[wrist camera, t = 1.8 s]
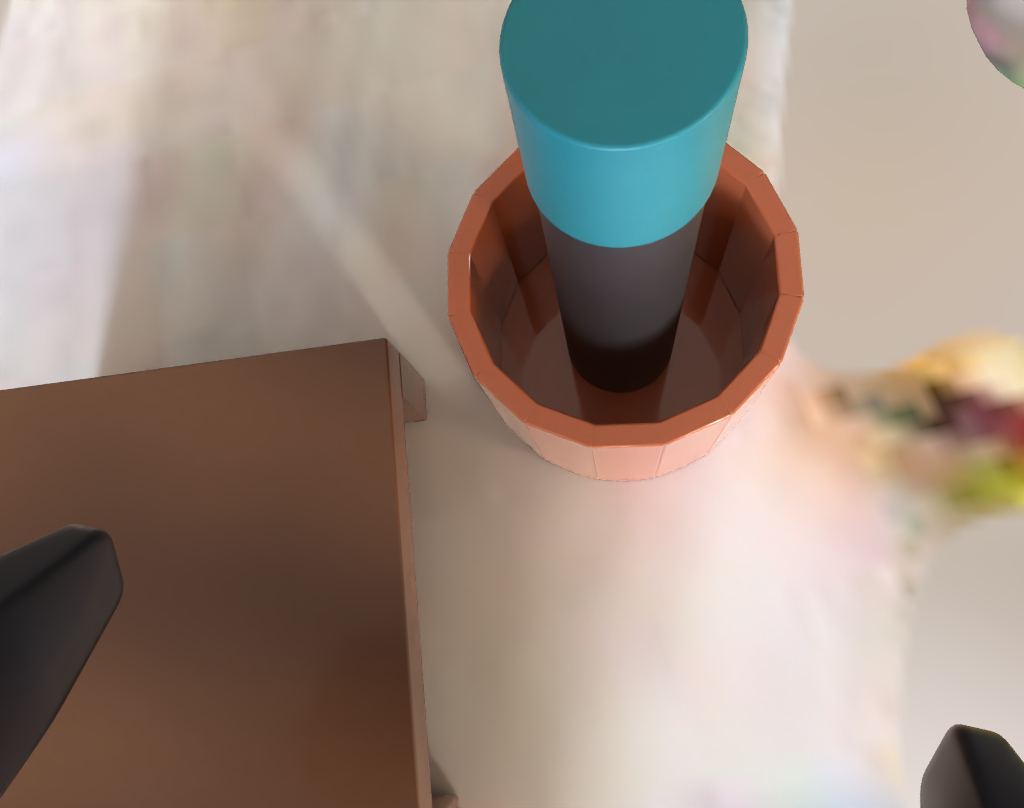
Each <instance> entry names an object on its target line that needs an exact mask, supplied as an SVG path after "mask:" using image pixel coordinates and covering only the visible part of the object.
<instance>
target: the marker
mask: <svg viewBox="0 0 1024 808" xmlns="http://www.w3.org/2000/svg"><path fill="white" fill-rule="evenodd" d="M747 48H748V25H747V19H746V14H745V11H744V7H743V4H742V1H741V0H512V2H511V4H510V6H509V8H508V10H507V13H506V16H505V18H504V21H503V25H502V30H501V35H500V46H499V54H500V65H501V69H502V74H503V78H504V83H505V87H506V92H507V96H508V101H509V105H510V110H511V114H512V118H513V123H514V127H515V132H516V136H517V141H518V145H519V150H520V154H521V159H522V163H523V168H524V172H525V176H526V181H527V185H528V188H529V190H530V193H531V195H532V198H533V199H534V201H535V203H536V205H537V206H538V208H539V212H540V217H541V222H542V227H543V231H544V236H545V241H546V246H547V251H548V255H549V260H550V265H551V270H552V275H553V280H554V284H555V289H556V294H557V299H558V304H559V308H560V313H561V318H562V323H563V328H564V332H565V337H566V342H567V347H568V351H569V356H570V359H571V361H572V364H573V365H574V367H575V369H576V370H577V372H578V373H579V374H580V375H581V376H582V377H583V378H584V379H585V380H586V381H587V382H588V383H590V384H592V385H593V386H595V387H597V388H599V389H602V390H605V391H609V392H621V393H622V392H630V391H635V390H638V389H640V388H643V387H645V386H647V385H649V384H650V383H651V382H653V381H654V380H655V379H656V378H658V377H659V376H660V374H661V373H662V372H663V371H664V369H665V368H666V366H667V364H668V362H669V360H670V357H671V354H672V350H673V345H674V341H675V336H676V332H677V327H678V323H679V318H680V314H681V309H682V305H683V300H684V296H685V291H686V287H687V282H688V278H689V273H690V269H691V264H692V260H693V255H694V251H695V246H696V242H697V237H698V233H699V228H700V223H701V219H702V214H703V210H704V205H705V203H706V201H707V200H708V198H709V196H710V195H711V192H712V190H713V188H714V186H715V183H716V180H717V177H718V173H719V169H720V165H721V161H722V157H723V152H724V148H725V144H726V140H727V136H728V131H729V127H730V123H731V119H732V115H733V110H734V106H735V102H736V98H737V94H738V89H739V85H740V81H741V77H742V73H743V68H744V64H745V60H746V55H747Z"/></svg>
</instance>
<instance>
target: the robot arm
mask: <svg viewBox="0 0 1024 808" xmlns="http://www.w3.org/2000/svg"><path fill="white" fill-rule="evenodd" d="M122 593H123V577H122V574H121V570H120V566H119V562H118V559H117V555H116V551H115V548H114V544H113V540H112V538H111V536H110V535H109V534H108V533H107V532H106V531H104V530H102V529H97V528H93V527H89V526H84V525H79V524H72V525H68V526H65V527H62V528H60V529H58V530H56V531H54V532H52V533H49V534H47V535H45V536H43V537H41V538H39V539H36V540H34V541H32V542H30V543H28V544H26V545H23V546H21V547H19V548H17V549H15V550H13V551H10V552H8V553H6V554H4V555H2V556H0V799H1V797H2V796H3V794H4V793H5V791H6V790H7V789H8V787H9V786H10V784H11V783H12V781H13V780H14V778H15V777H16V775H17V774H18V773H19V771H20V770H21V768H22V767H23V765H24V764H25V762H26V761H27V760H28V758H29V757H30V755H31V754H32V752H33V751H34V749H35V748H36V746H37V745H38V744H39V742H40V741H41V739H42V737H43V736H44V734H45V733H46V731H47V730H48V728H49V727H50V725H51V724H52V722H53V721H54V719H55V717H56V716H57V714H58V712H59V710H60V709H61V707H62V705H63V704H64V702H65V700H66V698H67V697H68V695H69V693H70V691H71V689H72V688H73V686H74V684H75V682H76V680H77V679H78V677H79V675H80V673H81V671H82V670H83V668H84V666H85V664H86V662H87V660H88V659H89V657H90V655H91V653H92V651H93V650H94V648H95V646H96V644H97V642H98V641H99V639H100V637H101V635H102V633H103V632H104V630H105V628H106V626H107V624H108V623H109V621H110V619H111V617H112V615H113V614H114V612H115V610H116V608H117V606H118V604H119V602H120V600H121V597H122ZM920 807H921V808H1024V762H1023V761H1022V760H1021V759H1020V757H1019V756H1018V755H1017V753H1016V752H1015V751H1014V750H1013V748H1012V747H1011V746H1010V744H1009V743H1008V742H1007V741H1006V740H1005V739H1004V738H1003V737H1002V736H1000V735H999V734H997V733H995V732H992V731H988V730H983V729H979V728H975V727H970V726H966V725H961V724H960V725H959V724H958V725H957V724H956V725H954V726H952V727H951V728H950V729H949V730H948V731H947V733H946V734H945V736H944V738H943V739H942V741H941V743H940V745H939V747H938V748H937V750H936V752H935V754H934V756H933V757H932V759H931V761H930V763H929V765H928V766H927V768H926V770H925V772H924V775H923V778H922V783H921V791H920Z"/></svg>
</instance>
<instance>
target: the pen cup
mask: <svg viewBox="0 0 1024 808" xmlns="http://www.w3.org/2000/svg"><path fill="white" fill-rule="evenodd" d="M803 296H804V291H803V280H802V269H801V259H800V248H799V237H798V232H797V229H796V227H795V225H794V223H793V222H792V220H791V218H790V216H789V214H788V213H787V211H786V209H785V207H784V206H783V204H782V202H781V200H780V198H779V197H778V195H777V193H776V191H775V190H774V188H773V186H772V184H771V183H770V181H769V179H768V177H767V176H766V174H764V172H763V171H762V170H761V169H760V168H758V167H757V166H756V165H754V164H753V163H752V162H750V161H749V160H748V159H747V158H745V157H744V156H743V155H741V154H740V153H739V152H737V151H736V150H735V149H733V148H732V147H731V146H730V145H728V144H727V143H726V144H725V148H724V152H723V157H722V161H721V165H720V169H719V173H718V177H717V180H716V183H715V186H714V188H713V190H712V192H711V195H710V196H709V198H708V200H707V201H706V203H705V205H704V210H703V214H702V219H701V223H700V228H699V233H698V237H697V242H696V246H695V251H694V255H693V260H692V264H691V269H690V273H689V278H688V282H687V287H686V291H685V296H684V300H683V305H682V309H681V314H680V318H679V323H678V327H677V332H676V336H675V341H674V345H673V350H672V354H671V357H670V360H669V362H668V364H667V366H666V368H665V369H664V371H663V372H662V373H661V374H660V376H659V377H658V378H656V379H655V380H654V381H653V382H651V383H650V384H649V385H647V386H645V387H643V388H640V389H638V390H635V391H630V392H622V393H621V392H609V391H605V390H602V389H599V388H597V387H595V386H593V385H592V384H590V383H588V382H587V381H586V380H585V379H584V378H583V377H582V376H581V375H580V374H579V373H578V372H577V370H576V369H575V367H574V365H573V364H572V361H571V359H570V356H569V351H568V347H567V342H566V337H565V332H564V328H563V323H562V318H561V313H560V308H559V304H558V299H557V294H556V289H555V284H554V280H553V275H552V270H551V265H550V260H549V255H548V251H547V246H546V241H545V236H544V231H543V227H542V222H541V217H540V212H539V208H538V206H537V205H536V203H535V201H534V199H533V198H532V195H531V193H530V190H529V188H528V185H527V181H526V176H525V172H524V168H523V163H522V159H521V154H520V150H519V148H517V149H516V150H515V151H514V152H513V153H512V154H511V155H510V156H509V157H508V158H507V159H506V160H505V161H504V162H503V164H502V165H501V166H500V167H499V168H498V169H497V170H496V171H495V172H494V173H493V174H492V175H491V176H490V177H489V178H488V179H487V180H486V181H485V182H484V183H483V184H482V185H481V186H480V187H479V188H478V189H477V190H476V191H475V194H473V195H472V197H471V200H470V202H469V204H468V207H467V209H466V211H465V214H464V216H463V218H462V221H461V223H460V226H459V228H458V230H457V233H456V235H455V237H454V240H453V242H452V244H451V247H450V249H449V253H448V316H449V320H450V323H451V325H452V327H453V330H454V332H455V334H456V337H457V339H458V341H459V343H460V346H461V348H462V350H463V353H464V355H465V357H466V360H467V362H468V364H469V366H470V369H471V371H472V373H473V375H474V377H475V378H476V380H477V381H478V383H479V384H480V386H481V387H482V389H483V390H484V392H485V393H486V395H487V396H488V398H489V399H490V401H491V402H492V404H493V405H494V407H495V408H496V410H497V411H498V413H499V414H500V416H501V417H502V419H503V420H504V421H505V423H506V424H507V425H508V426H509V427H510V428H511V429H512V430H513V431H514V432H515V433H516V434H517V435H518V436H519V437H520V438H521V439H522V440H523V441H524V442H525V443H526V444H527V445H528V446H529V447H530V448H532V449H533V450H534V451H535V452H536V453H537V454H539V455H540V456H541V457H542V458H543V459H545V460H546V461H548V462H551V463H553V464H555V465H557V466H559V467H561V468H564V469H566V470H568V471H570V472H573V473H576V474H579V475H583V476H586V477H589V478H593V479H599V480H608V481H632V480H643V479H648V478H654V477H659V476H661V475H664V474H667V473H670V472H673V471H675V470H678V469H680V468H682V467H684V466H686V465H688V464H690V463H692V462H694V461H696V460H697V459H699V458H701V457H703V456H705V455H706V454H708V453H709V452H710V451H711V450H712V449H713V448H714V447H715V446H716V445H717V444H718V443H719V442H720V441H721V440H722V439H723V438H724V437H725V436H726V435H727V433H728V432H729V431H730V430H731V429H732V428H733V427H734V426H735V425H736V423H737V422H738V421H739V420H740V419H741V418H742V417H743V416H744V415H745V413H746V412H747V411H748V409H749V408H750V406H751V405H752V403H753V402H754V401H755V399H756V398H757V396H758V395H759V394H760V392H761V391H762V389H763V388H764V387H765V385H766V384H767V382H768V381H769V380H770V378H771V377H772V375H773V374H774V372H775V371H776V370H777V368H778V367H779V365H780V363H781V362H782V360H783V357H784V354H785V352H786V349H787V346H788V343H789V340H790V337H791V334H792V331H793V329H794V326H795V323H796V320H797V317H798V314H799V311H800V308H801V306H802V303H803Z"/></svg>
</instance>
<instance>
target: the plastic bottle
mask: <svg viewBox="0 0 1024 808" xmlns="http://www.w3.org/2000/svg"><path fill="white" fill-rule="evenodd" d="M967 11H968V15H969V19H970V23H971V27H972V29H973V32H974V34H975V36H976V38H977V40H978V42H979V44H980V46H981V48H982V50H983V52H984V53H985V55H986V57H987V58H988V59H989V60H990V62H991V63H992V64H993V65H994V66H995V67H996V69H997V70H998V71H1000V72H1001V73H1002V74H1003V75H1005V76H1006V77H1007V78H1008V79H1010V80H1011V81H1012V82H1014V83H1015V84H1017V85H1019V86H1021V87H1023V88H1024V0H967Z"/></svg>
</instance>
